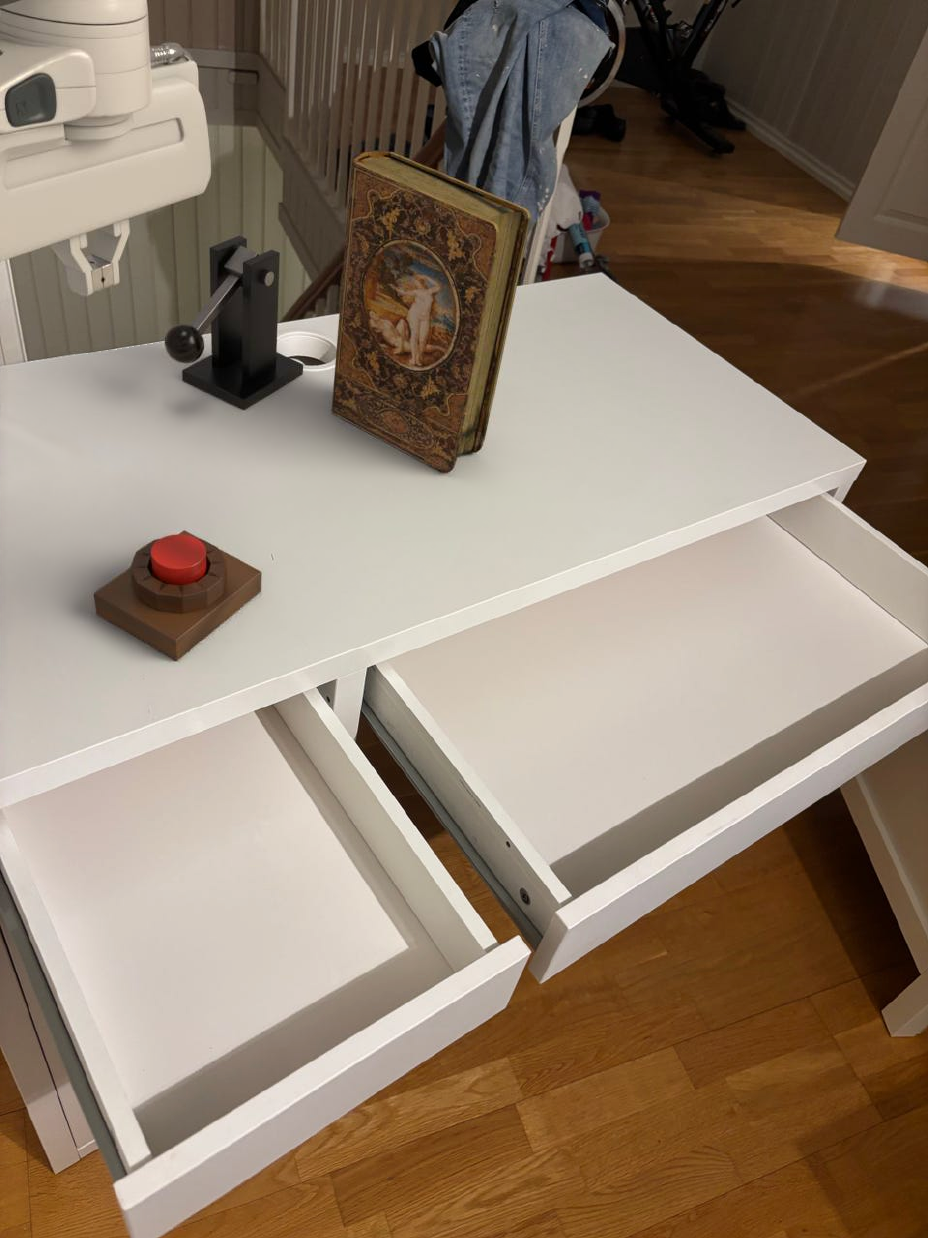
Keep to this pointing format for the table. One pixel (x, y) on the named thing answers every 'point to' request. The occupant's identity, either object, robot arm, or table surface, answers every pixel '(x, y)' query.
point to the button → (178, 559)
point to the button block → (177, 600)
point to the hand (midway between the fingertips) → (94, 287)
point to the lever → (206, 312)
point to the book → (424, 306)
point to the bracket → (244, 333)
